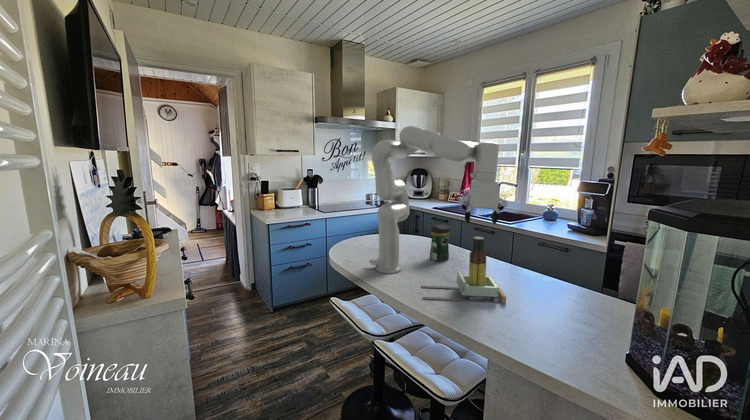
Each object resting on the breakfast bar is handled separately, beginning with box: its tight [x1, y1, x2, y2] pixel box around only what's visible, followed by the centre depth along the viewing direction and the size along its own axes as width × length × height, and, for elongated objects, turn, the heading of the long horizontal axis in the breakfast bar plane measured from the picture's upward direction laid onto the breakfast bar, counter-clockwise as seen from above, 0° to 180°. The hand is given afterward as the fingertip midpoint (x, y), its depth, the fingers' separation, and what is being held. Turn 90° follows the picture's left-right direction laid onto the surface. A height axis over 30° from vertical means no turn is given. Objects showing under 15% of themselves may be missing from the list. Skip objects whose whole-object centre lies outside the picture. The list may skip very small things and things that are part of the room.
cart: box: [456, 270, 500, 300], centre depth 117 cm, size 13×11×7 cm
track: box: [420, 281, 507, 305], centre depth 118 cm, size 30×13×3 cm, turn 86°
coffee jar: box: [429, 223, 451, 263], centre depth 156 cm, size 10×8×19 cm
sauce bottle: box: [468, 236, 487, 286], centre depth 116 cm, size 6×6×20 cm
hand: (480, 222), depth 113 cm, fingers open, 9 cm apart
